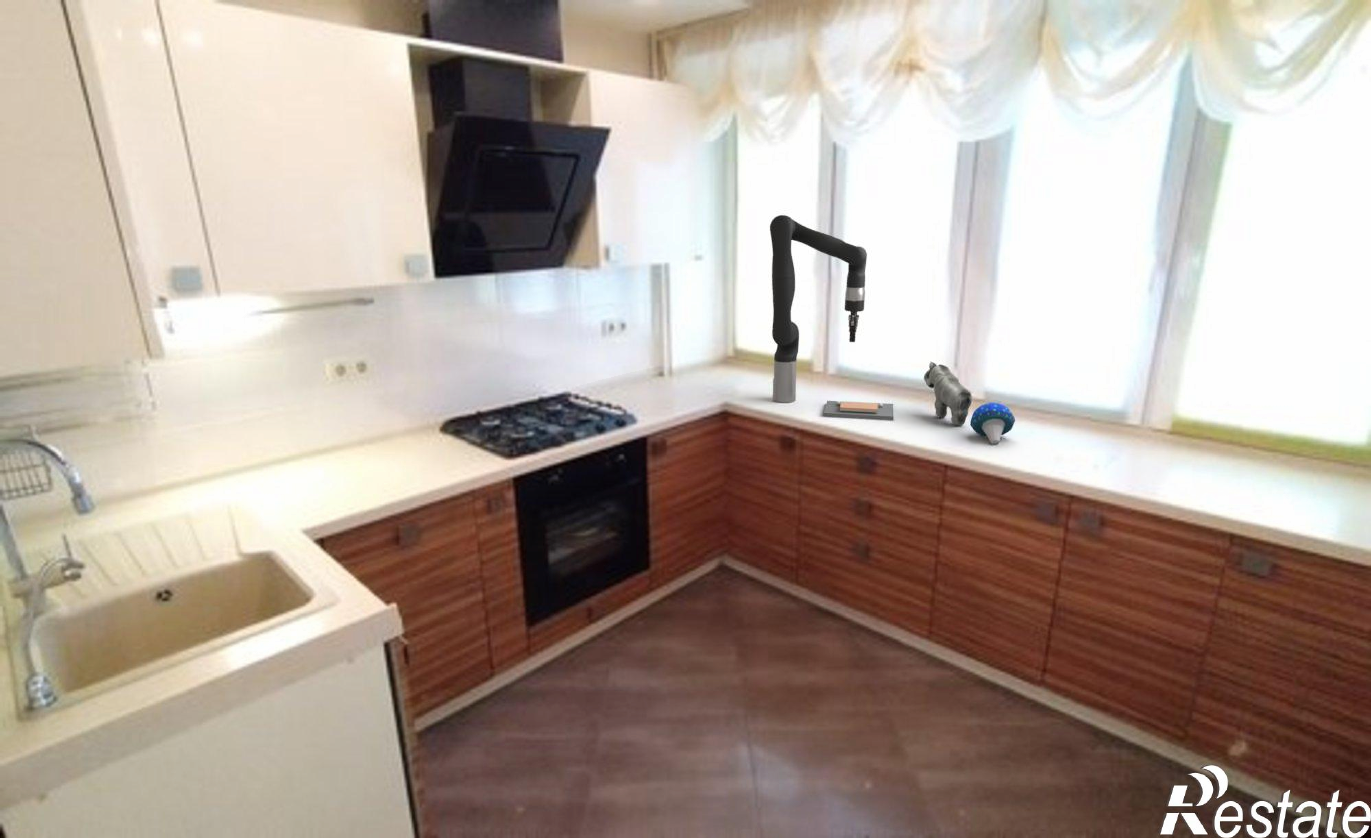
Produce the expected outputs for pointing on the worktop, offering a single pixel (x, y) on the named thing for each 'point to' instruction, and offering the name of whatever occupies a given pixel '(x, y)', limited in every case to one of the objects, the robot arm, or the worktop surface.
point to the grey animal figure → (948, 393)
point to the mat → (882, 412)
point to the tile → (859, 407)
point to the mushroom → (992, 421)
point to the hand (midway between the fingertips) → (852, 341)
